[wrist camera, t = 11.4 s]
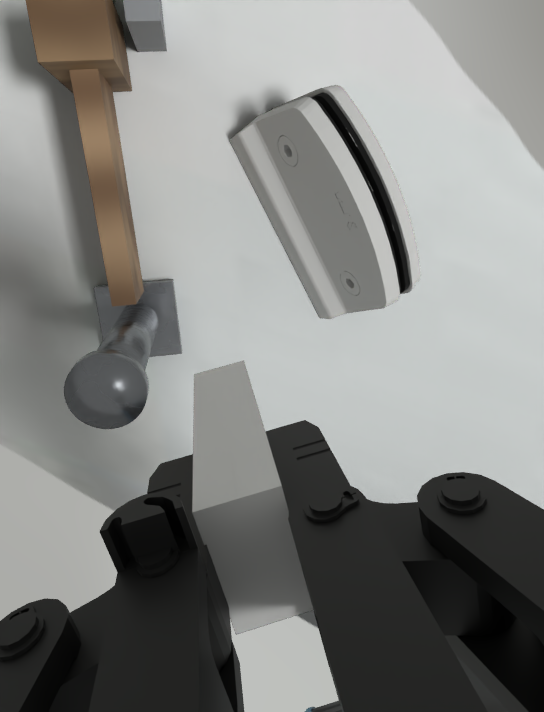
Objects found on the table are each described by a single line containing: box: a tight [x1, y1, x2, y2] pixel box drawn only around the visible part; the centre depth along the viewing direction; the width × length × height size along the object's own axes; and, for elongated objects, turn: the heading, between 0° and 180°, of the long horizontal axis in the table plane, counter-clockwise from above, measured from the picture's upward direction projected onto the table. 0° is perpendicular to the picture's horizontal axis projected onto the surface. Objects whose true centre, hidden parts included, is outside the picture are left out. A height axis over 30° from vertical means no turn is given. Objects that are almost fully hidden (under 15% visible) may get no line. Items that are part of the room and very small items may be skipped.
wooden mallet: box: [26, 0, 144, 307], centre depth 31 cm, size 18×4×8 cm, turn 4°
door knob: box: [64, 279, 182, 429], centre depth 32 cm, size 6×6×16 cm
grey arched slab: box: [229, 85, 421, 319], centre depth 35 cm, size 17×5×10 cm, turn 28°
